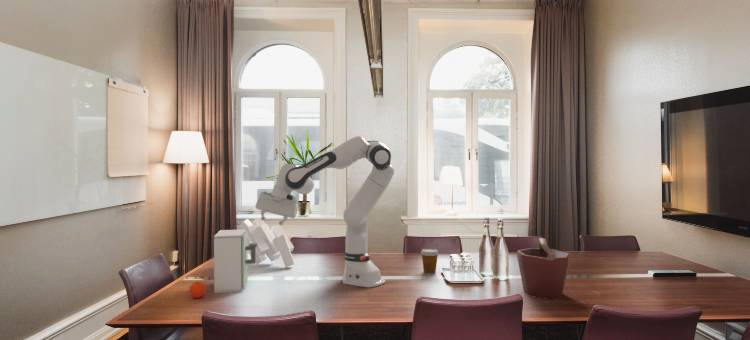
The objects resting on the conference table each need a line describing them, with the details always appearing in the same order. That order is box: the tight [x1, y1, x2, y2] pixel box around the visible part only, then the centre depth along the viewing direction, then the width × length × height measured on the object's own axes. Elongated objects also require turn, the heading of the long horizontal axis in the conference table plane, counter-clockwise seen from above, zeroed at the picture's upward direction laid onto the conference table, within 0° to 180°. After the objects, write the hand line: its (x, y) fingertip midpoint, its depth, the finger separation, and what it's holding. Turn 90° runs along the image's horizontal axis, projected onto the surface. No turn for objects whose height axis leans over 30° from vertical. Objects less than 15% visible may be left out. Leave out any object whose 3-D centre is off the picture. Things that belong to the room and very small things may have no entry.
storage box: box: [213, 229, 245, 294], centre depth 208 cm, size 12×18×26 cm, turn 11°
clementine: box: [188, 281, 208, 299], centre depth 192 cm, size 8×7×7 cm
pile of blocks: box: [239, 217, 295, 268], centre depth 253 cm, size 35×30×35 cm
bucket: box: [516, 237, 571, 299], centre depth 198 cm, size 24×22×25 cm
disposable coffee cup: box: [420, 248, 439, 274], centre depth 236 cm, size 10×10×12 cm
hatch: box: [242, 230, 257, 291], centre depth 210 cm, size 6×19×25 cm, turn 11°
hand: (271, 222), depth 207 cm, fingers open, 8 cm apart
